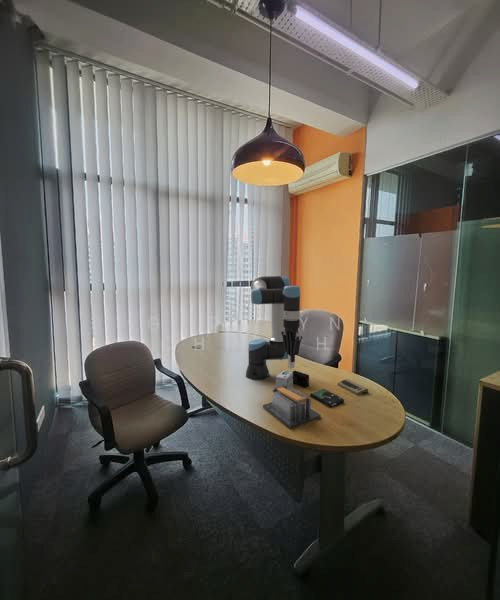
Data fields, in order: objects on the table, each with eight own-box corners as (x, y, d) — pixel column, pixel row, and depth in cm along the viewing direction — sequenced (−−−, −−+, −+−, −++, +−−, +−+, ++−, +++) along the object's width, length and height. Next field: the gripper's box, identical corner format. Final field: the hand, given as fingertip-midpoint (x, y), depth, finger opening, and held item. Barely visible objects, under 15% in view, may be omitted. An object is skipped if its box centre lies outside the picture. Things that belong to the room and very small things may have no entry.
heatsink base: (262, 407, 139) (262, 387, 138) (291, 399, 148) (291, 380, 147) (290, 429, 121) (290, 406, 119) (320, 418, 129) (321, 396, 128)
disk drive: (344, 404, 144) (323, 393, 156) (344, 399, 143) (323, 388, 156) (329, 409, 139) (309, 397, 151) (330, 404, 138) (309, 392, 151)
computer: (337, 385, 166) (337, 380, 166) (347, 383, 169) (347, 378, 169) (357, 396, 152) (357, 390, 151) (368, 393, 155) (368, 388, 155)
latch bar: (276, 390, 141) (275, 387, 141) (282, 389, 143) (282, 385, 143) (299, 403, 125) (299, 400, 125) (306, 401, 127) (306, 398, 127)
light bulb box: (282, 387, 163) (282, 370, 162) (293, 390, 160) (293, 372, 158) (275, 395, 153) (275, 376, 152) (286, 397, 150) (286, 378, 149)
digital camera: (289, 383, 169) (289, 372, 168) (294, 381, 172) (294, 370, 172) (303, 388, 161) (303, 377, 160) (308, 386, 165) (309, 374, 164)
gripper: (276, 317, 133) (276, 365, 136) (294, 322, 122) (293, 373, 125) (289, 316, 137) (288, 362, 140) (307, 320, 126) (306, 370, 128)
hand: (291, 367), depth 132 cm, fingers closed
